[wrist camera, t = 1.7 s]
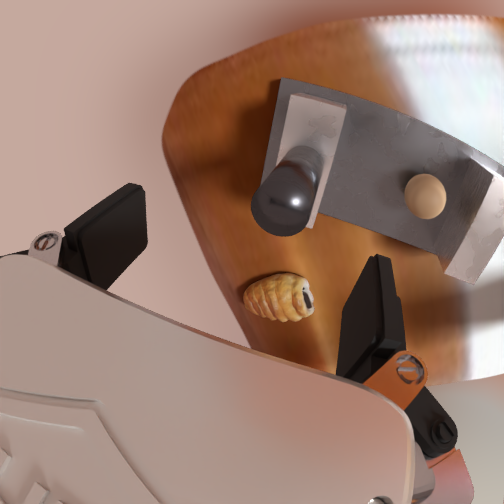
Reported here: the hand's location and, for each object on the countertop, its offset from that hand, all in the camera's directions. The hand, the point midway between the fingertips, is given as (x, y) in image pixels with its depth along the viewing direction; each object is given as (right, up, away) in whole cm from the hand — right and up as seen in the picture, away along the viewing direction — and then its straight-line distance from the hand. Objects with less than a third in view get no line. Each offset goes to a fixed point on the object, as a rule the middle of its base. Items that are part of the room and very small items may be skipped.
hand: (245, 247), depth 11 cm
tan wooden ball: (+15, +5, +10) cm, 19 cm away
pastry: (+5, -5, +26) cm, 27 cm away
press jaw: (+6, +9, +13) cm, 17 cm away
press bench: (+14, +7, +13) cm, 20 cm away
